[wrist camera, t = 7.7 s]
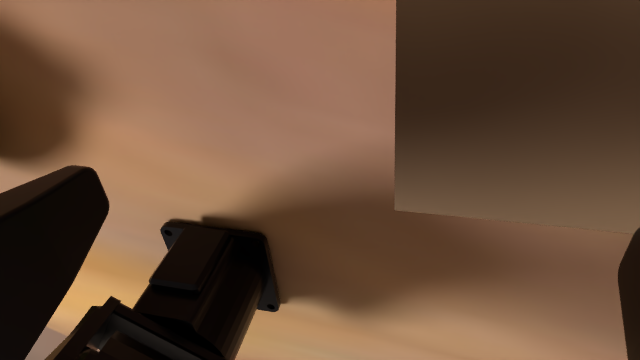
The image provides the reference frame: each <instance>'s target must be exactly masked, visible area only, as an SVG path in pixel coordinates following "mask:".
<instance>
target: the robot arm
mask: <svg viewBox="0 0 640 360" xmlns="http://www.w3.org/2000/svg"><path fill="white" fill-rule="evenodd" d="M108 211H109V201H108V198H107V196H106V193H105V191H104V189H103V186H102V184H101V182H100V179H99V177H98V175H97V173H96V171H95V170H94V169H93V168H90V167H85V166H76V165H71V166H67V167H64V168H62V169H60V170H57V171H55V172H52V173H50V174H47V175H45V176H42V177H40V178H37V179H35V180H32V181H30V182H28V183H25V184H23V185H20V186H18V187H15V188H13V189H10V190H8V191H5V192H3V193H0V360H25V358H26V356H27V355H28V353H29V352H30V350H31V349H32V347H33V345H34V344H35V342H36V341H37V339H38V338H39V336H40V334H41V333H42V331H43V330H44V328H45V326H46V325H47V323H48V322H49V320H50V319H51V317H52V315H53V314H54V312H55V311H56V309H57V307H58V306H59V304H60V303H61V301H62V300H63V298H64V296H65V295H66V293H67V292H68V290H69V288H70V287H71V285H72V283H73V281H74V280H75V278H76V276H77V274H78V272H79V270H80V268H81V266H82V264H83V262H84V260H85V258H86V256H87V254H88V252H89V250H90V248H91V246H92V244H93V242H94V240H95V238H96V236H97V235H98V233H99V231H100V229H101V227H102V225H103V223H104V221H105V219H106V217H107V214H108ZM160 230H161V234H162V236H163V239H164V241H165V244H166V246H167V249H168V252H167V254H166V255H165V257H164V258H163V260H162V261H161V263H160V264H159V266H158V267H157V268H156V270H155V271H154V273H153V274H152V276H151V277H150V279H149V285H148V286H147V288H146V289H145V291H144V292H143V294H142V295H141V297H140V298H139V300H138V301H137V303H136V304H135V306H134V307H133V309H131V308H129V307H127V306H125V305H123V304H122V303H120V302H121V301H120V300H118V299H116V298H114V297H112V296H111V297H110V298H109V299H108V300H107V301H106V303H105V304H104V305H103V306H92V307H91V308H90V309H89V310H88V312H87V313H86V314H85V316H84V317H83V318H82V320H81V321H80V322H79V324H78V325H77V326H76V327H75V329H74V330H73V331H72V332H71V333H70V335H69V336H68V337H67V338H66V339H65V340H64V341H63V342H62V343H61V344H60V345H59V346H58V347H57V348H56V349H55V350H54V351H53V352H52V353H51V354H50V355H49V356H48V357H47V358H46V359H45V360H235V358H236V355H237V353H238V351H239V348H240V346H241V344H242V341H243V339H244V337H245V334H246V332H247V330H248V327H249V325H250V323H251V320H252V318H253V316H254V314H255V311H256V309H258V310H264V311H270V312H276V311H278V310H279V307H280V298H279V293H278V289H277V284H276V279H275V275H274V270H273V265H272V261H271V256H270V251H269V247H268V242H267V239H266V237H265V236H264V235H262V234H260V233H255V232H247V231H239V230H231V229H222V228H214V227H206V226H198V225H190V224H181V223H173V222H166V223H164V225H163V226H162V227H161V229H160ZM618 286H619V293H620V301H621V309H622V317H623V325H624V333H625V340H626V348H627V356H628V360H640V227H639V228H638V229H637V230H636V231H635V233H634V235H633V237H632V239H631V241H630V243H629V246H628V248H627V250H626V252H625V254H624V257H623V259H622V261H621V263H620V266H619V270H618ZM97 349H99V350H100V352H98V351H97Z"/></svg>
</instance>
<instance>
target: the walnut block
mask: <svg viewBox="0 0 640 360" xmlns="http://www.w3.org/2000/svg"><path fill="white" fill-rule="evenodd" d="M394 210H396V211H406V212H416V213H427V214H437V215H447V216H457V217H467V218H477V219H487V220H497V221H507V222H517V223H527V224H537V225H547V226H557V227H567V228H577V229H587V230H598V231H608V232H618V233H628V234H634V233H635V231H636V230H637V229H638V228H639V227H640V0H396V95H395V197H394Z"/></svg>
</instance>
